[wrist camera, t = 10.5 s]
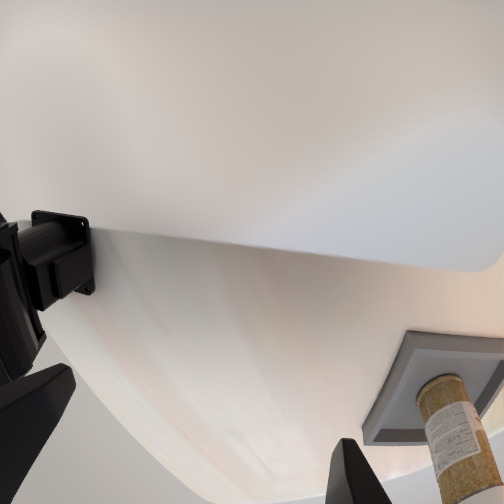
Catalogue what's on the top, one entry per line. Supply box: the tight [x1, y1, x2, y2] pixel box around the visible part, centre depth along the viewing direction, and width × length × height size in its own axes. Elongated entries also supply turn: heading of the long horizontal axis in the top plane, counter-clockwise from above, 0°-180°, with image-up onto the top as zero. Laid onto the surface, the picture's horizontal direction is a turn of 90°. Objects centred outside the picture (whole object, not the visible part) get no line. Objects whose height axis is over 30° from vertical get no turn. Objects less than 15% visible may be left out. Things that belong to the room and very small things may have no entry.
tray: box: [362, 331, 504, 446], centre depth 21 cm, size 11×11×2 cm
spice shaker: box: [416, 375, 504, 504], centre depth 15 cm, size 5×5×13 cm
